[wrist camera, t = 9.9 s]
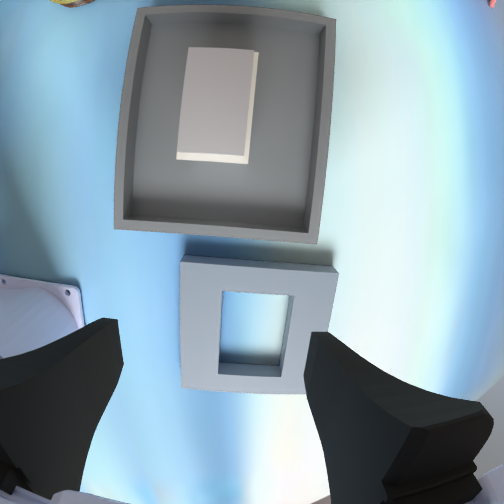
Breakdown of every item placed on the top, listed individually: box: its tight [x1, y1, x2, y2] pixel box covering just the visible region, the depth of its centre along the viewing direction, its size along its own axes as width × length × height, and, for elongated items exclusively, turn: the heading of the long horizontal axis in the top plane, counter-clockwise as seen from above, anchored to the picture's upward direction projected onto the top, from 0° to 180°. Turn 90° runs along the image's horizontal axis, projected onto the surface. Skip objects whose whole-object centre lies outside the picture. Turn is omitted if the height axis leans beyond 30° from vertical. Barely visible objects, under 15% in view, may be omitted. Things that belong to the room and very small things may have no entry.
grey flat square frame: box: [180, 255, 339, 394], centre depth 22 cm, size 10×10×2 cm
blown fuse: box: [176, 47, 259, 164], centre depth 14 cm, size 3×5×7 cm, turn 175°
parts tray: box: [114, 5, 336, 244], centre depth 17 cm, size 12×14×2 cm
